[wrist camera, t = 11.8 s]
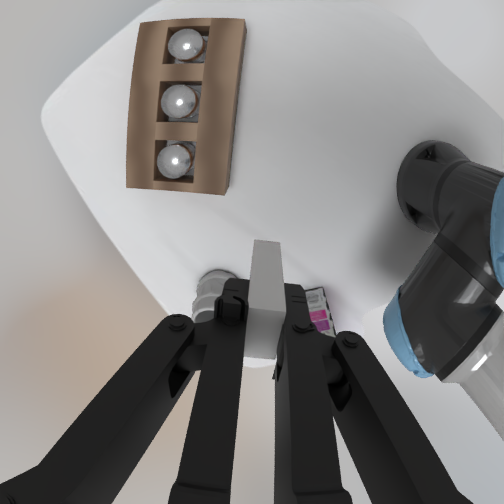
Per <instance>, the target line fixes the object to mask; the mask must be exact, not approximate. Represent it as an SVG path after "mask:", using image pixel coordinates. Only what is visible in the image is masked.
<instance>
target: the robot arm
mask: <svg viewBox="0 0 504 504" xmlns="http://www.w3.org/2000/svg"><path fill="white" fill-rule="evenodd" d="M397 195H398V200H399V204H400V207H401V209H402V211H403V213H404V214H405V216H406V217H407V218H408V219H409V220H410V221H411V222H412V223H414V224H415V225H416V226H417V227H419V228H421V229H423V230H425V231H428V232H433V233H438V235H437V236H436V238H435V239H434V241H433V242H432V244H431V245H430V247H429V248H428V250H427V251H426V253H425V254H424V256H423V257H422V259H421V260H420V262H419V263H418V264H417V266H416V267H415V269H414V270H413V271H412V273H411V274H410V276H409V277H408V278H407V280H406V281H405V282H404V284H403V285H401V286H400V287H399V288H398V290H397V292H396V294H395V296H394V297H393V299H392V300H391V302H390V303H389V304H388V306H387V307H386V309H385V311H384V315H383V325H384V332H385V335H386V338H387V340H388V342H389V345H390V346H391V348H392V350H393V352H394V353H395V355H396V356H397V358H398V359H399V360H400V362H401V363H402V364H403V365H404V366H405V367H406V368H407V369H408V370H409V371H413V373H414V374H415V375H416V376H418V377H420V378H427V377H430V376H433V375H434V374H435V375H436V376H437V377H438V378H439V380H440V381H441V382H443V383H459V384H460V385H461V386H462V388H463V389H464V390H465V391H466V393H467V394H468V395H469V396H470V398H471V399H472V400H473V401H474V403H475V404H476V405H477V406H478V408H479V409H480V410H481V411H482V413H483V414H484V415H485V417H486V418H487V419H488V420H489V422H490V423H491V424H492V426H493V427H494V428H495V430H496V431H497V432H498V434H499V435H500V437H501V438H502V439H503V441H504V312H503V310H501V309H500V307H499V306H498V305H497V304H496V302H495V301H496V300H497V298H498V297H499V295H500V294H501V293H502V291H503V289H504V173H503V172H500V171H498V170H495V169H492V168H489V167H486V166H483V165H480V164H477V163H474V162H471V161H470V160H469V159H468V158H467V157H466V156H465V155H464V154H463V153H462V152H461V151H460V150H458V149H457V148H456V147H454V146H453V145H451V144H448V143H445V142H440V141H426V142H423V143H421V144H419V145H417V146H416V147H414V148H413V149H412V150H411V151H410V152H409V153H408V155H407V156H406V157H405V159H404V161H403V163H402V165H401V167H400V170H399V174H398V179H397ZM276 354H277V362H276V366H275V370H274V374H273V378H272V379H275V474H274V475H275V477H274V504H353V503H352V498H351V495H350V494H349V492H348V491H346V490H345V489H344V488H343V487H342V483H341V474H340V466H339V458H338V450H337V443H336V435H335V429H334V422H333V417H334V419H335V421H336V424H337V426H338V428H339V430H340V433H341V435H342V437H343V439H344V442H345V444H346V446H347V448H348V450H349V453H350V455H351V457H352V459H353V461H354V464H355V466H356V468H357V471H358V473H359V475H360V478H361V480H362V482H363V484H364V487H365V489H366V491H367V493H368V495H369V498H370V500H371V502H372V504H473V503H472V502H471V501H470V500H468V499H467V498H466V497H465V496H464V495H462V494H461V493H460V492H459V491H458V490H457V489H456V487H455V485H454V483H453V481H452V479H451V478H450V476H449V474H448V472H447V471H446V469H445V467H444V465H443V464H442V462H441V460H440V458H439V457H438V455H437V453H436V452H435V450H434V448H433V446H432V445H431V443H430V441H429V440H428V438H427V437H426V435H425V433H424V432H423V430H422V428H421V427H420V425H419V423H418V422H417V420H416V419H415V417H414V415H413V414H412V412H411V410H410V409H409V407H408V406H407V404H406V402H405V401H404V399H403V398H402V396H401V395H400V393H399V391H398V390H397V388H396V387H395V385H394V384H393V382H392V381H391V379H390V378H389V376H388V375H387V373H386V371H385V370H384V368H383V367H382V365H381V364H380V363H379V361H378V359H377V358H376V357H375V355H374V353H373V352H372V350H371V349H370V348H369V346H368V345H367V343H366V342H365V340H364V339H363V338H362V337H361V336H360V335H358V334H357V333H355V332H351V331H342V332H339V333H338V334H337V335H336V337H332V336H329V335H325V334H323V333H321V332H319V331H318V330H317V327H316V325H315V324H314V323H313V322H312V321H311V318H310V313H309V308H308V304H307V298H306V292H305V290H304V289H303V288H302V286H301V285H297V284H288V283H284V280H283V269H282V258H281V248H280V243H279V242H270V241H262V240H254V247H253V255H252V263H251V272H250V280H247V279H238V278H229V279H228V280H227V281H226V282H225V283H224V287H223V291H222V295H220V296H219V297H217V298H216V300H215V301H214V318H213V319H211V320H209V321H206V322H201V323H194V321H193V320H192V319H191V318H190V317H188V316H186V315H182V314H173V315H170V316H167V317H166V318H164V319H163V320H162V321H161V322H160V323H159V324H158V326H157V327H156V328H155V329H154V330H153V331H152V332H151V333H150V334H149V336H148V337H147V338H146V339H145V340H144V341H143V343H142V344H141V345H140V346H139V347H138V348H137V349H136V350H135V351H134V353H133V354H132V355H131V356H130V357H129V358H128V359H127V360H126V362H125V363H124V364H123V365H122V366H121V367H120V368H119V370H118V371H117V372H116V373H115V374H114V375H113V377H112V378H111V379H110V380H109V381H108V382H107V384H106V385H105V386H104V387H103V388H102V389H101V390H100V392H99V393H98V394H97V395H96V396H95V397H94V399H93V400H92V401H91V402H90V403H89V404H88V406H87V407H86V408H85V409H84V411H83V412H82V413H81V414H80V415H79V416H78V417H77V419H76V420H75V421H74V422H73V423H72V425H71V426H70V427H69V428H68V429H67V431H66V432H65V433H64V434H63V435H62V437H61V438H60V439H59V440H58V441H57V443H56V444H55V445H54V446H53V448H52V449H51V450H50V451H49V452H48V454H47V455H46V456H45V457H44V458H43V460H42V461H41V462H40V463H39V465H37V466H35V467H33V468H32V469H30V470H28V471H26V472H24V473H22V474H20V475H18V476H16V477H14V478H12V479H10V480H8V481H6V482H4V483H1V484H0V504H111V503H112V502H113V501H114V499H115V498H116V496H117V495H118V493H119V492H120V490H121V488H122V487H123V485H124V484H125V482H126V481H127V479H128V478H129V476H130V475H131V473H132V471H133V470H134V468H135V467H136V465H137V464H138V462H139V461H140V459H141V458H142V456H143V454H144V453H145V451H146V450H147V448H148V446H149V445H150V444H151V442H152V440H153V439H154V437H155V435H156V434H157V432H158V431H159V429H160V428H161V426H162V424H163V423H164V421H165V420H166V418H167V416H168V415H169V413H170V412H171V410H172V409H173V407H174V405H175V404H176V402H177V401H178V399H179V398H180V396H181V394H182V393H183V391H184V389H185V388H186V386H187V385H188V383H189V381H190V380H191V378H192V377H193V375H194V373H195V371H197V370H201V373H200V377H199V381H198V386H197V390H196V394H195V399H194V403H193V407H192V412H191V416H190V421H189V426H188V430H187V434H186V439H185V443H184V448H183V452H182V457H181V462H180V466H179V471H178V476H177V479H176V481H175V483H174V484H173V486H172V488H171V492H170V496H169V501H168V504H230V495H231V480H232V470H233V459H234V450H235V439H236V428H237V419H238V409H239V398H240V388H241V378H242V367H243V357H253V358H263V359H275V358H276Z"/></svg>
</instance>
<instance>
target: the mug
mask: <svg viewBox="0 0 504 504" xmlns="http://www.w3.org/2000/svg"><path fill="white" fill-rule="evenodd" d="M229 278H236V277H235V276H234V275H232V274H231V273H229V272H228V274H227V273H226V272H224V271H212V272H210V273H208V274H207V275H205V276H204V277H203V278H202V279H201V281H200V282H199V284H198V286H197V298H196V299H195V301H193V306H192V311H193V314H192V318H191V319H192V320H193V321H194V323H201V322H206V321H209V320H211V319H213V318H214V301H215V300H216V298H217V297H219V296H220V295H222V291H223V287H224V283H225V282H226V281H227V280H228V279H229Z"/></svg>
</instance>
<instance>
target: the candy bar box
mask: <svg viewBox="0 0 504 504" xmlns="http://www.w3.org/2000/svg"><path fill="white" fill-rule="evenodd" d="M305 292H306V298H307V304H308V308H309V313H310V318H311V321H312V322H313V323H314V324H315V325H316V327H317V330H318V331H319V332H321V333H323V334H325V335H329V336H332V337H336V331H335V328H334V324H333V320H332V317H331V313H330V310H329V306H328V303H327V299H326V296H325V293H324V289H323V287H321V288H316V289H312V290H307V291H305Z"/></svg>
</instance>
